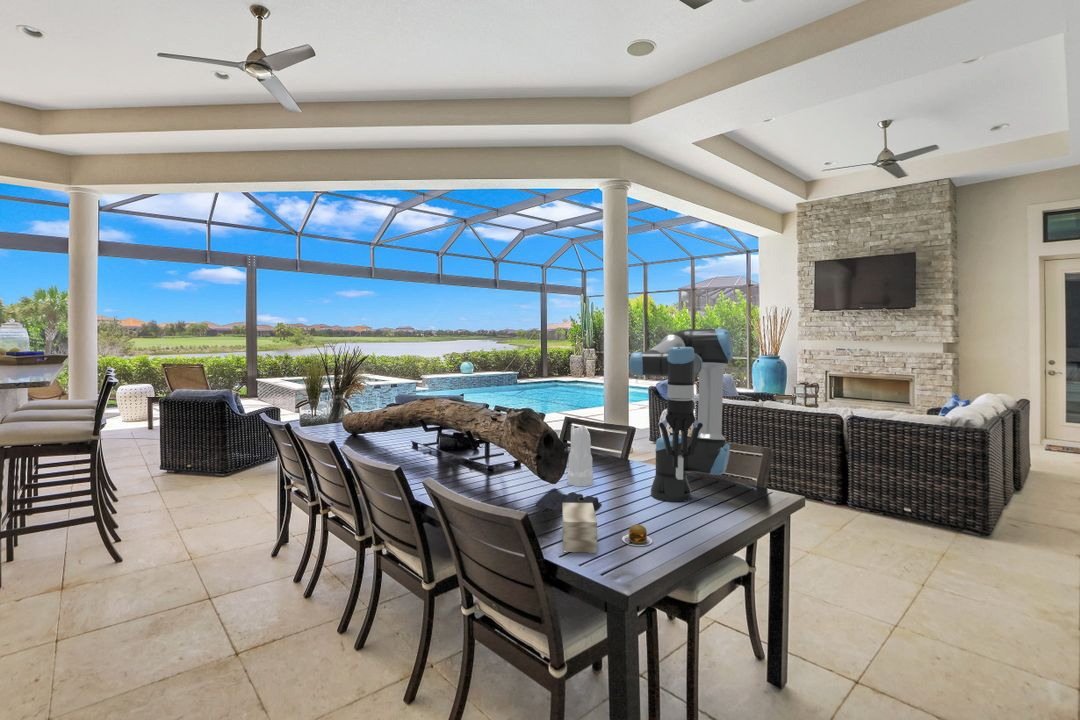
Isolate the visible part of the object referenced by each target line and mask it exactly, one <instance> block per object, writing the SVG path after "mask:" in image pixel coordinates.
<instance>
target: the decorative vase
mask: <svg viewBox="0 0 1080 720" xmlns="http://www.w3.org/2000/svg"><path fill="white" fill-rule="evenodd" d="M591 438H592V437H591V434H590V432H589V430H588V427H586V426H585V425H583V424H582V425H581V426H578V427H575V425H571V426H570V450H569V454H568V469H567V484H568V485H569V484H570V486H572V485H573V487H579V486H580V487H581V486H584V487H589V486H592V485H593V483H594V471H593V456H592V453H591V451H592V450H591V449H592V448H591V446H592V445H591V444H592V443H591Z"/></svg>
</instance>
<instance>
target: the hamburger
mask: <svg viewBox="0 0 1080 720" xmlns="http://www.w3.org/2000/svg"><path fill="white" fill-rule="evenodd" d="M647 533H648V532H647V529H646V527H645V526H643V524H633V525H631V526H630V527H629V528H628V534H625V535H623V536H622V538H621V540H622V542H624V543H625V544H627V545H630V546H634V547H645V546H648V545H651V544H652V543H653V539H652V538H651V537H649V536H648V535H647ZM627 538H628V539H629V542H631V543H633V544H631V543H628V542H627V541H626V539H627ZM647 540H648V541H649V543H647V544H645V545H644V543H646V541H647Z"/></svg>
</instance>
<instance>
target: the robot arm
mask: <svg viewBox="0 0 1080 720" xmlns="http://www.w3.org/2000/svg"><path fill="white" fill-rule="evenodd" d="M733 359H734V348H733V342H732V336H731V334H730V331H729V330H727V328H717V327H716V328H688V329H687V328H686V329H682V330H677V331H675V332H673V333H670V334H667V335H666V336H665V337H663V338H662V340H661V341H660V343H658V344H657V345H655V346H654V347H652V348H649V350H647V351H645V352H644V351H643V352H642V351H638V352H632V353H631V355H630V357H629V361H628V362H629V363H628V365H629V370H630V373H631V374H632V375H635V376H641V377H642V376H648V377H649V376H650V377H651V376H654V377H667V392H666V394H667V398H668V399H667V400H666V401H667V403H666V404H667V405H666V406H667V410H666V415H665V418H664V419H663V420H662V421H658V422H657V426H658V427H659V428H660V431H661V434H662V436H661V437H659V438H658V439H656V442H655V475H654V478H653V482H652V484H651V487H650V496H651V497H652V498H654V499H657V500H660V501H663V500H666V501H665V502H671V501H681V502H685V501H684V500H687V501H689V500H691V499H692V489H691V487H690V483H689V480H688V478H687V477H688V476H687V475H688V473H687V472H689V473H690V472H691V473H699V474H706V475H711V476H712V475H717V476H720V475H723V474H724V473H725V472H726V470H727V467H728V464H729V459H730V453H731V451H730V449H731V445H730V444H729V443H727V442H726V440H727V439H726V437H725V436H724V435H723V434H722V429H723V428H722V426H723V423H722V422H723V401H724V400H723V396H724V372H725V371H724V370H725V368H727V367H728V366H729V361H732V360H733ZM697 375H699V378H698V398H697V399H698V402H697V403H698V404H697V420H696V416H695V415H694V412H695V410H694V409H695V408H694V407H695V406H694V405H695V404H694V396H695V388H694V387H695V376H697ZM668 425H669V427H670V428H671V431H672V434H671V435H669V433H668V430H667V428H668ZM691 427H693V428H692V432H691V435H690V439H689V440H688V434H689V429H690V428H691ZM680 432H681V433H680ZM690 498H691V499H690ZM688 499H689V500H688Z"/></svg>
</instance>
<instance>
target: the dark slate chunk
mask: <svg viewBox="0 0 1080 720" xmlns="http://www.w3.org/2000/svg"><path fill="white" fill-rule="evenodd" d="M562 503H593V507H594V511H595V512H596V511H598V510H599V509H600V508H601V506H602V503H601V502H599V498H598V497H596V496H592V495H591V496H590V495H587V496H585V497H584V495H583V494H581V493H576V492H574V491H573V492H569V493H568V494H564V493H561V492H556V491H549V492H547V493H546V494H544V495H543V496H542V497H541V498H540V499H539V500H537V502H536V503H535V507H538V506H542V507H546V508H549V509H548V510H550V509H552V510H551V511H554V510H556V511H555V512H559V511H560V512H559V513H562ZM542 507H541V508H542ZM546 508H545V509H546Z"/></svg>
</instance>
